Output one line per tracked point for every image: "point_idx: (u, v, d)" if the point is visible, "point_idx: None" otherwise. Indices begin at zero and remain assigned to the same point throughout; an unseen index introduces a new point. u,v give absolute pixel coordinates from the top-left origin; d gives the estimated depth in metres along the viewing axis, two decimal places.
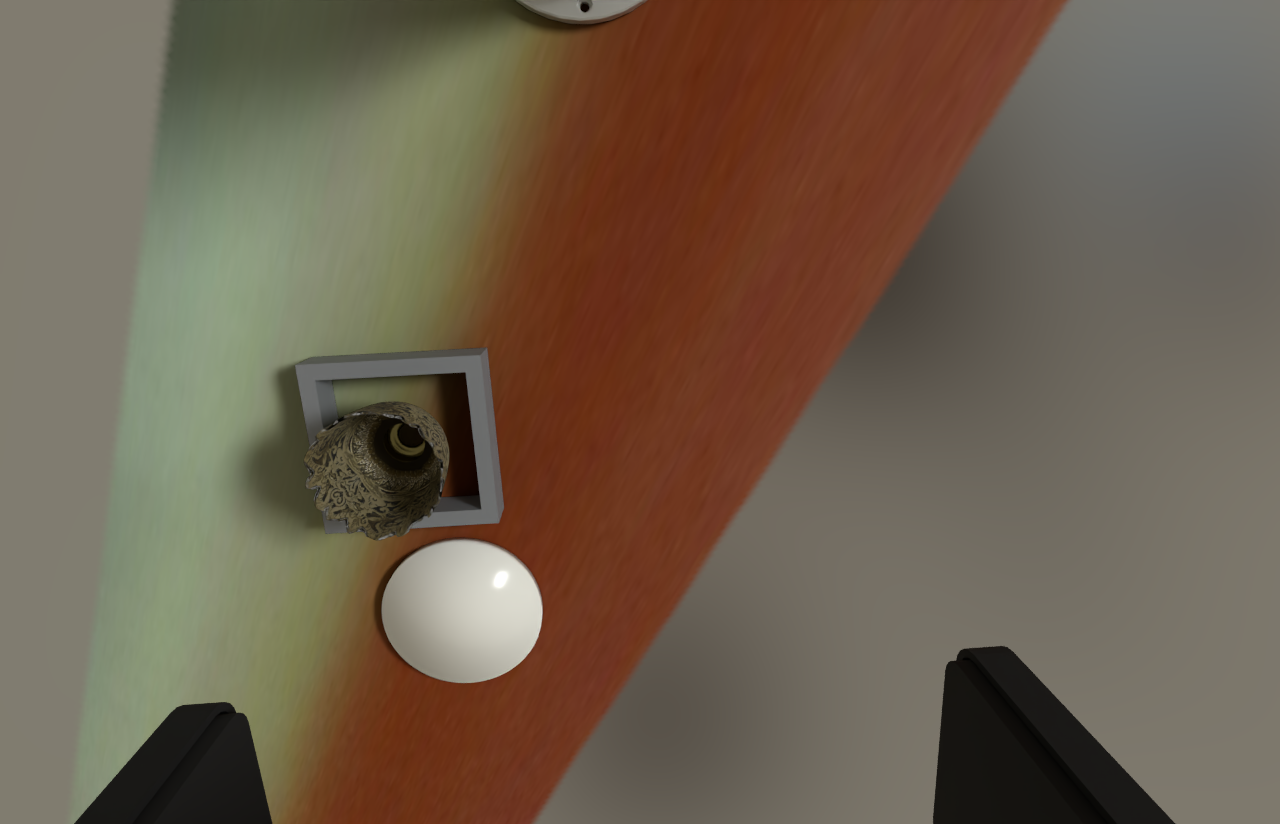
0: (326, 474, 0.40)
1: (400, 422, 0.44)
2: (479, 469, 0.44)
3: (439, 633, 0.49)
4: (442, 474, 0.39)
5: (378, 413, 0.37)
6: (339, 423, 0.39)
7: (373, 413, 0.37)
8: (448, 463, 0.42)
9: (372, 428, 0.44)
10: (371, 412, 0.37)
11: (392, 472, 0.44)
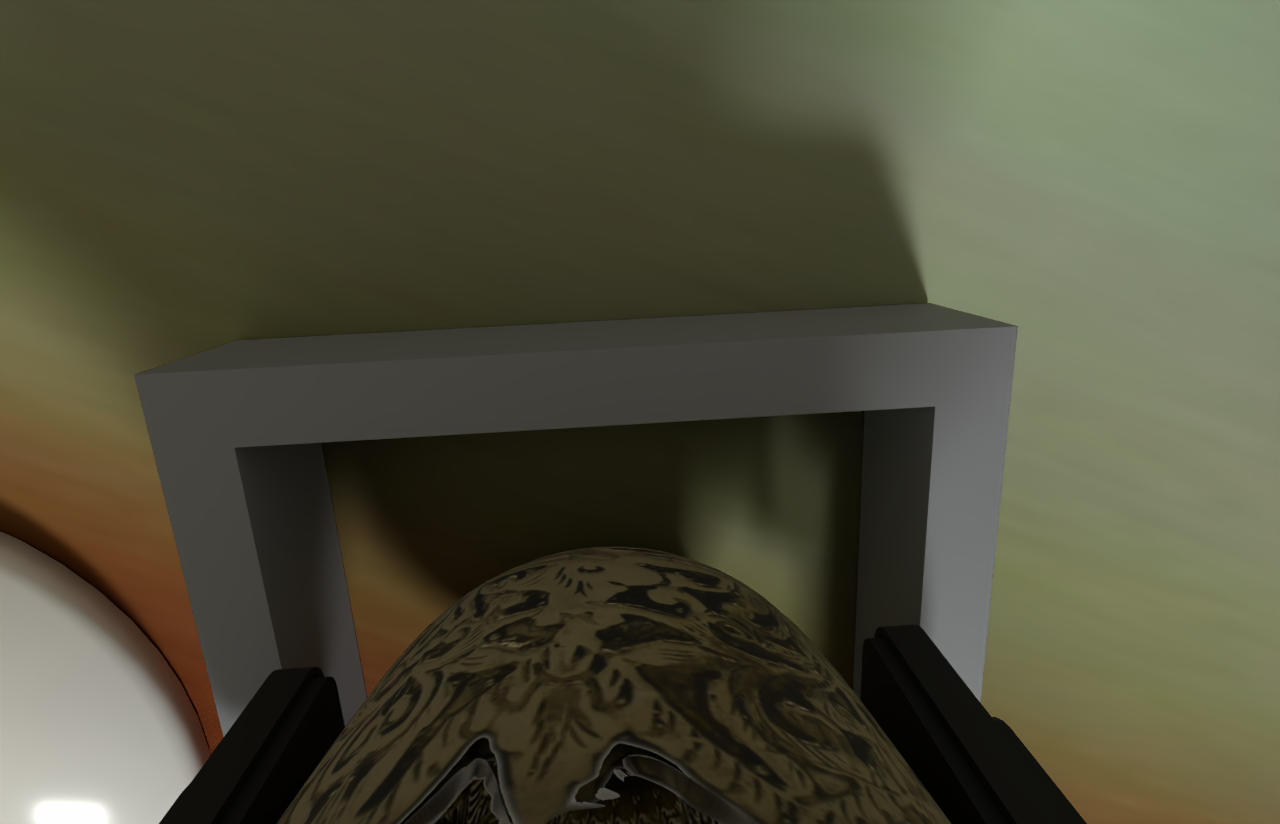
0: None
1: None
2: None
3: None
4: None
5: None
6: None
7: None
8: None
9: None
10: None
11: None
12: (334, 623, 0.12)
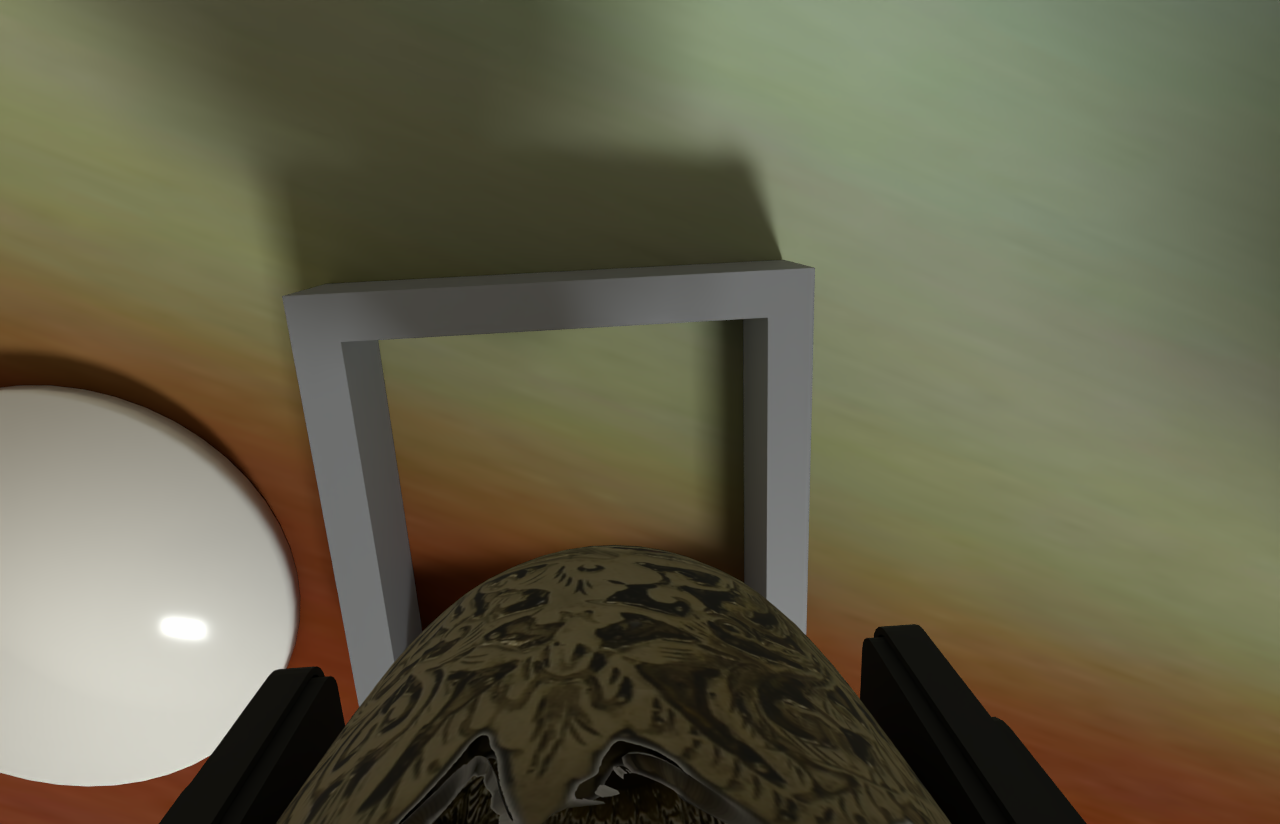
0: None
1: None
2: None
3: None
4: None
5: None
6: None
7: None
8: None
9: None
10: None
11: None
12: (389, 475, 0.17)
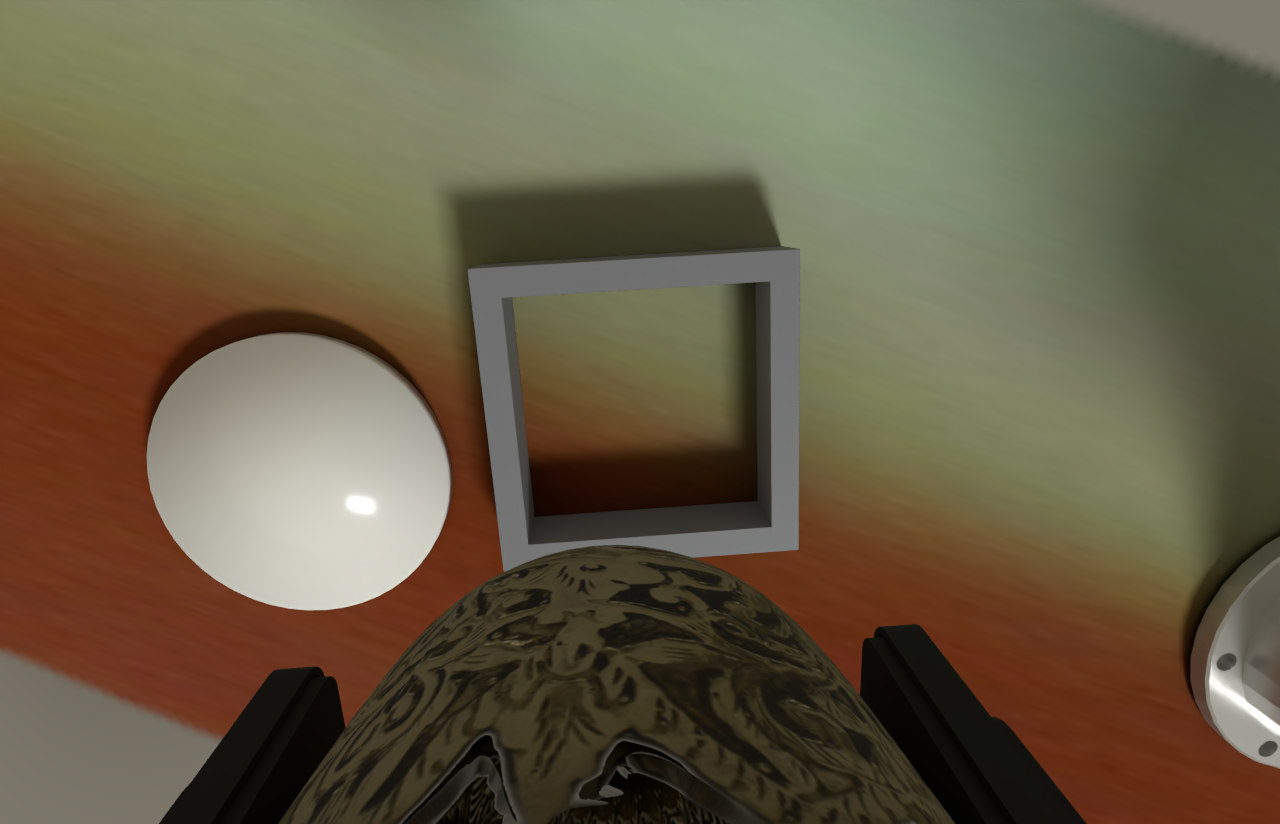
0: None
1: None
2: (602, 543, 0.26)
3: (254, 438, 0.26)
4: None
5: None
6: None
7: None
8: None
9: None
10: None
11: None
12: (519, 391, 0.26)
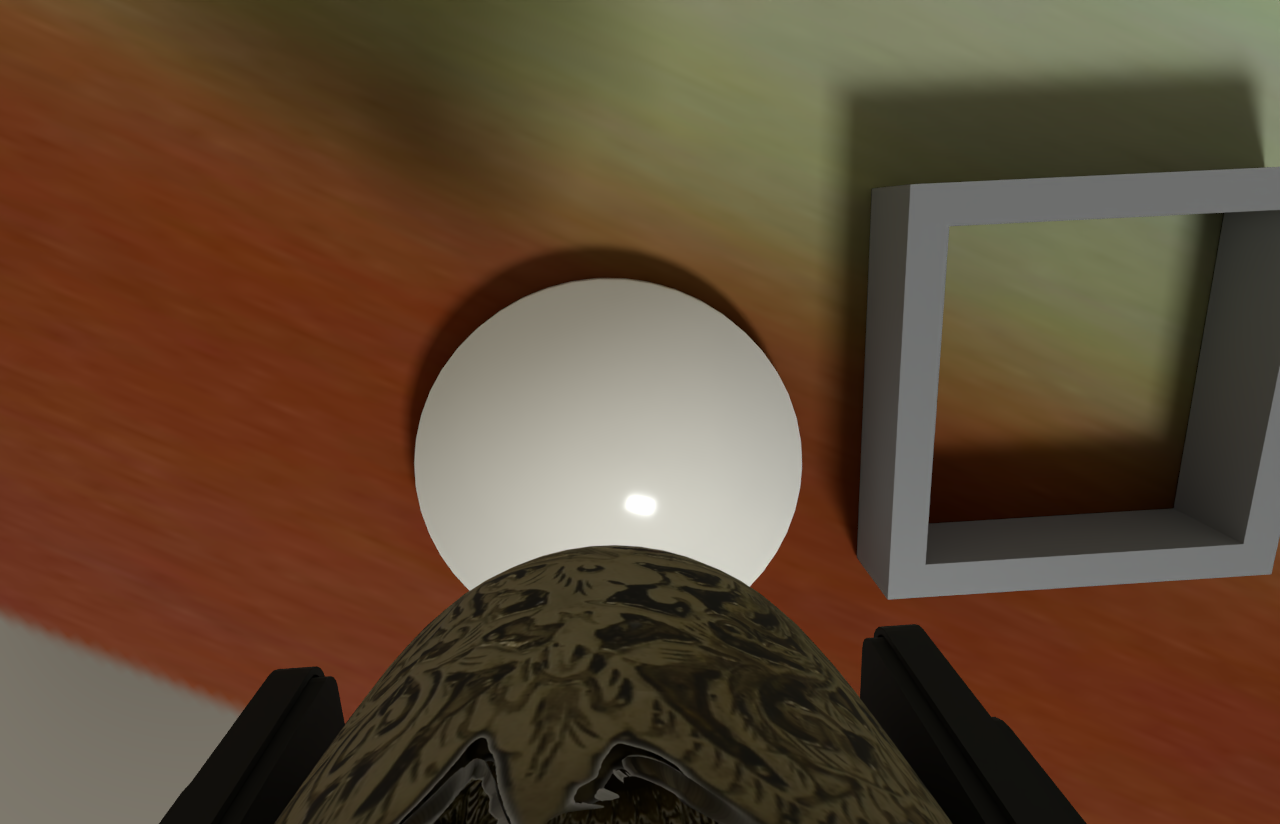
0: None
1: None
2: (1022, 564, 0.19)
3: (559, 419, 0.19)
4: None
5: None
6: None
7: None
8: None
9: None
10: None
11: None
12: None
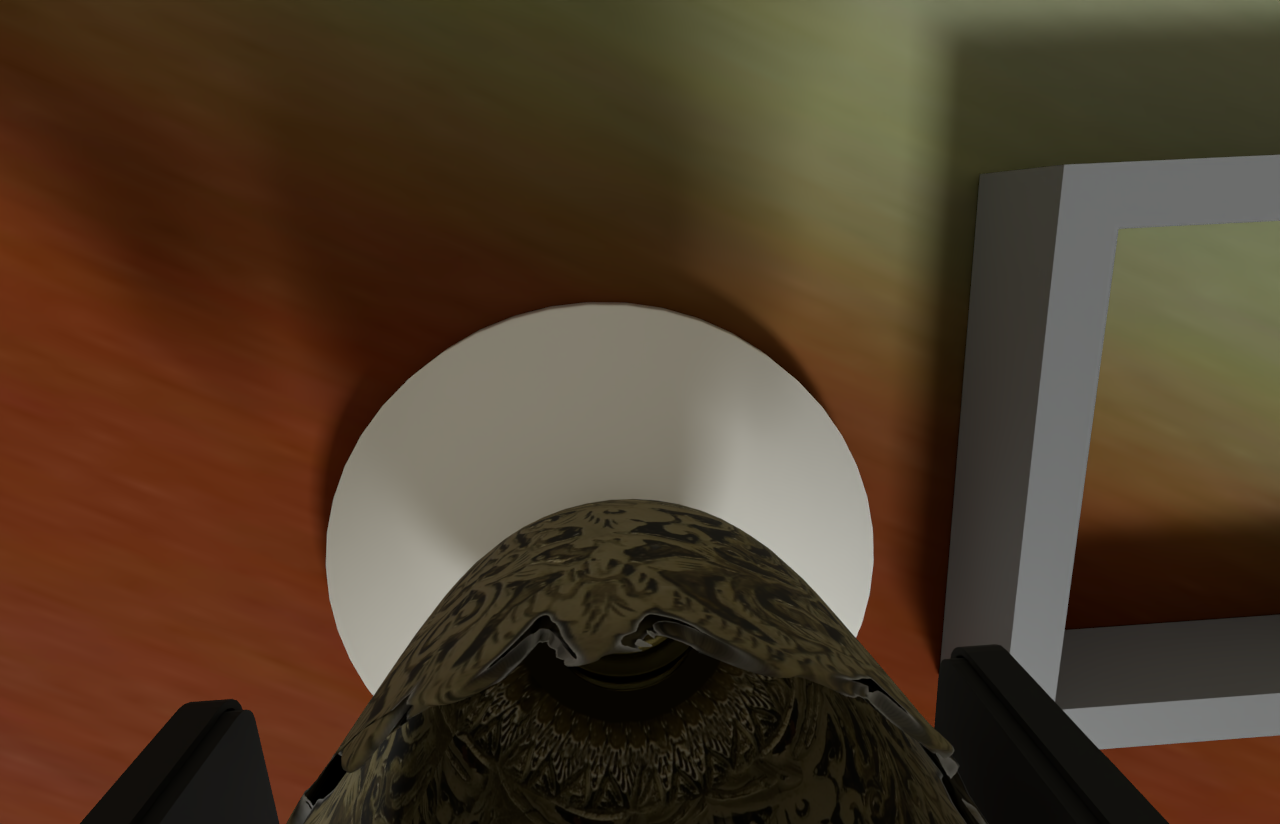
0: None
1: None
2: (1189, 707, 0.14)
3: (532, 503, 0.14)
4: None
5: None
6: None
7: None
8: None
9: None
10: None
11: None
12: None
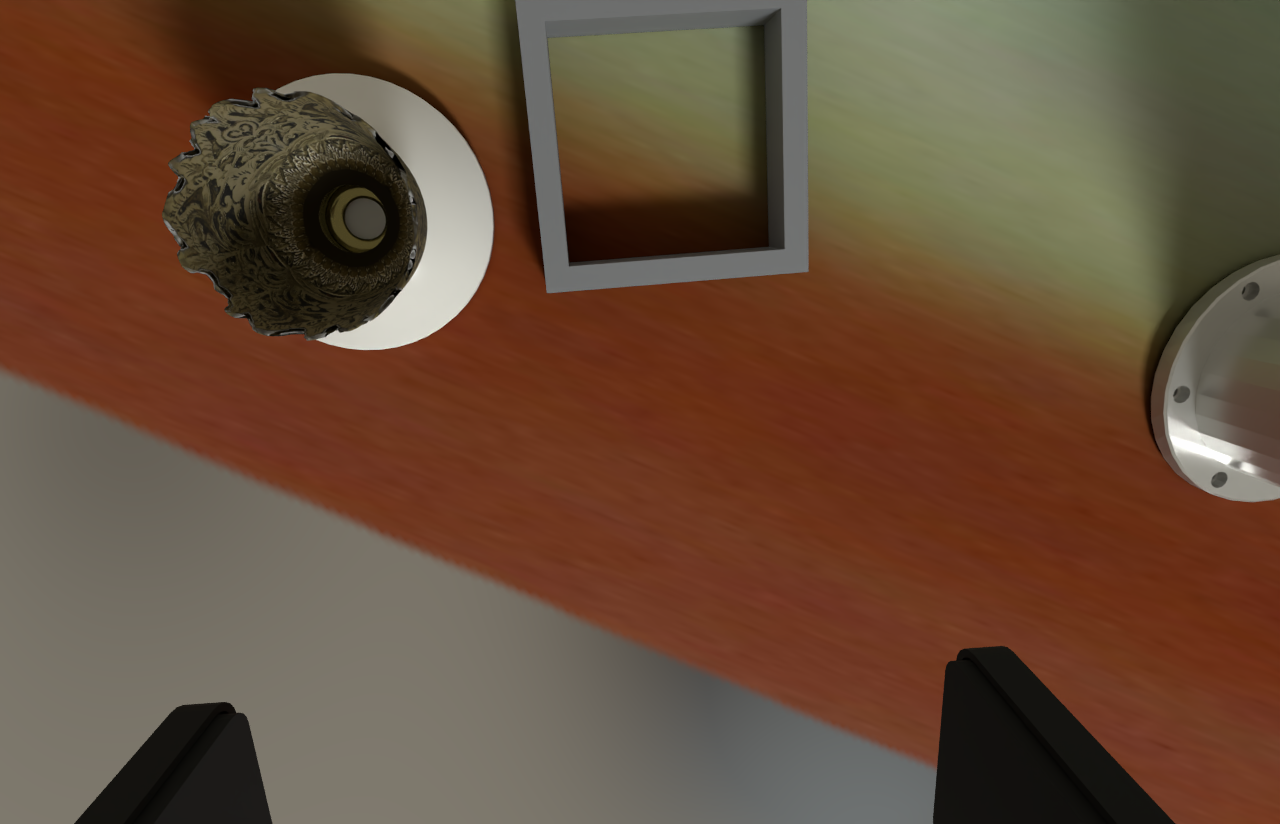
0: (283, 112, 0.22)
1: (388, 215, 0.27)
2: (635, 265, 0.29)
3: None
4: (314, 338, 0.23)
5: (416, 237, 0.22)
6: (386, 152, 0.22)
7: (415, 228, 0.22)
8: None
9: (372, 169, 0.27)
10: (416, 224, 0.22)
11: (298, 198, 0.27)
12: None
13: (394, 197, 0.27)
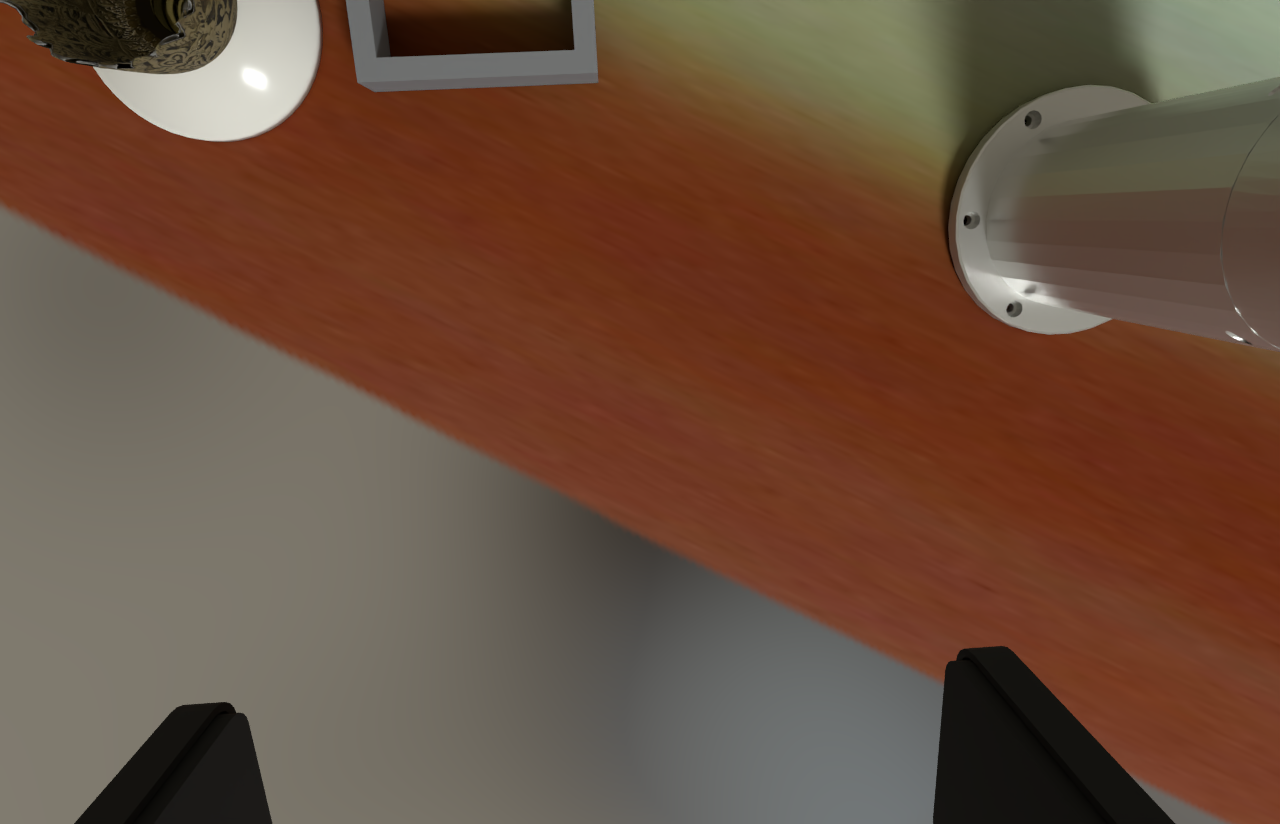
0: None
1: None
2: (437, 59, 0.32)
3: None
4: (105, 67, 0.26)
5: None
6: None
7: None
8: None
9: None
10: None
11: None
12: None
13: None
